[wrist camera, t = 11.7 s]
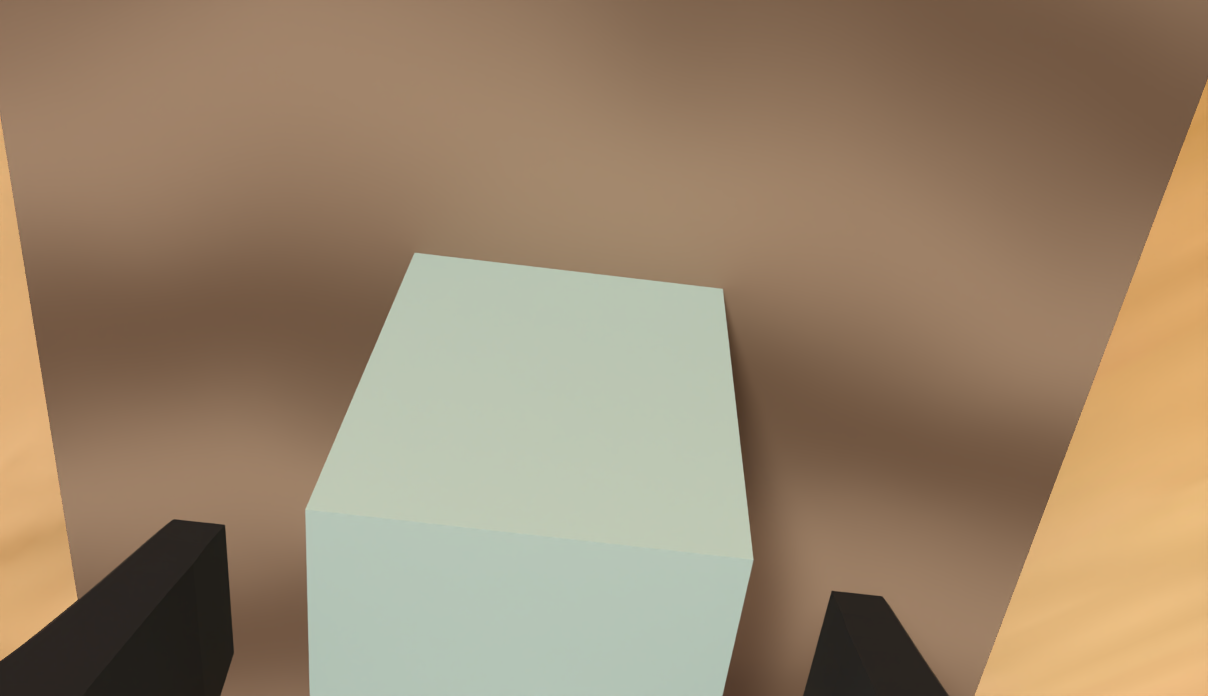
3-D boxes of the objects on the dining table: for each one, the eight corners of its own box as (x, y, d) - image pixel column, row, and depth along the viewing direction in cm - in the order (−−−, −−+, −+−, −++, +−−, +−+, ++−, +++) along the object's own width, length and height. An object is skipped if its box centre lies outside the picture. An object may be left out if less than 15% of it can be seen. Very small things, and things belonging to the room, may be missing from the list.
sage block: (678, 530, 19) (687, 847, 14) (406, 500, 19) (312, 808, 14) (722, 288, 17) (753, 559, 12) (414, 252, 17) (305, 509, 11)
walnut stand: (914, 717, 24) (934, 799, 22) (137, 634, 23) (95, 710, 22) (1198, -101, 16) (1266, -75, 14) (23, -246, 15) (-56, -237, 14)
